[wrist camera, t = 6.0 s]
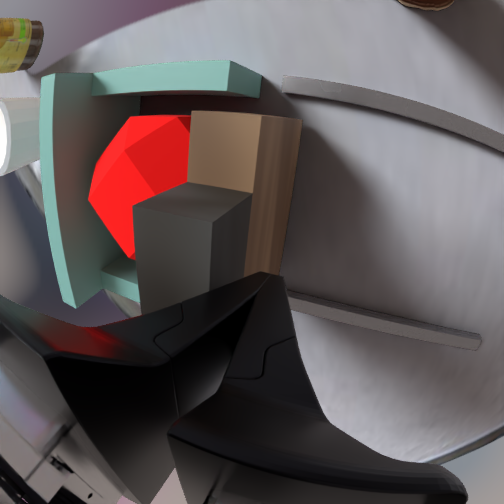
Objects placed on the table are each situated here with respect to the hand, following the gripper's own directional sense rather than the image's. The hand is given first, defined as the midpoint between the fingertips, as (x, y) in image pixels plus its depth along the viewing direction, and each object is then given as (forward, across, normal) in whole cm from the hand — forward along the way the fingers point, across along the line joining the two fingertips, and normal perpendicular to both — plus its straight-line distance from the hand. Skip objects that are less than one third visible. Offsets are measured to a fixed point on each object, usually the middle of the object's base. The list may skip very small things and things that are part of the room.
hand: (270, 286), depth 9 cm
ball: (+10, +8, 0) cm, 13 cm away
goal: (+10, +9, 0) cm, 13 cm away
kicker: (+10, +2, 0) cm, 10 cm away
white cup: (+10, +25, -4) cm, 27 cm away
